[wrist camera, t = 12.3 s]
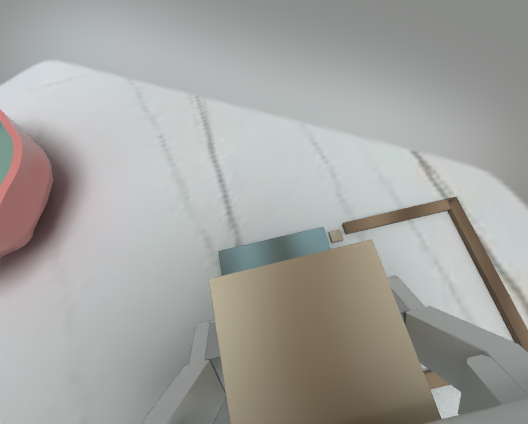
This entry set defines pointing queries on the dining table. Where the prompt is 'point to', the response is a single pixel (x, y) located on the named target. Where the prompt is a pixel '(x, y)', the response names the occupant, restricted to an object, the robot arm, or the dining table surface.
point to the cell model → (21, 185)
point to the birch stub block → (318, 343)
